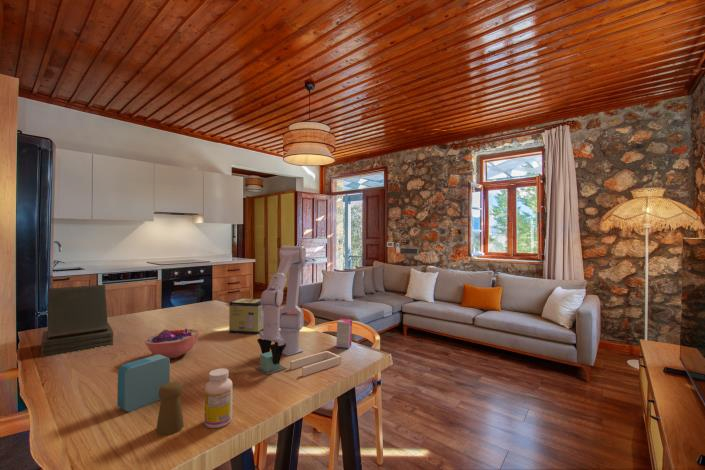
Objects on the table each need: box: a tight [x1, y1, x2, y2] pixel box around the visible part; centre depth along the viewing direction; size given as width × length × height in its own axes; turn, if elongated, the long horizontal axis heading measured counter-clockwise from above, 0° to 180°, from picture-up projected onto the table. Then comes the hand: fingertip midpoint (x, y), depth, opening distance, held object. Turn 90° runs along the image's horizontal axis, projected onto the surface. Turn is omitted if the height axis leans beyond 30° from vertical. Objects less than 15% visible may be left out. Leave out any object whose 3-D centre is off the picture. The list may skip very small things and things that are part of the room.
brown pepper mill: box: [155, 381, 184, 437], centre depth 81 cm, size 6×6×11 cm
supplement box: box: [335, 318, 353, 350], centre depth 144 cm, size 6×6×12 cm
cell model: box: [143, 328, 199, 360], centre depth 131 cm, size 17×20×11 cm
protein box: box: [228, 298, 264, 335], centre depth 167 cm, size 10×16×16 cm
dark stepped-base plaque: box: [40, 284, 114, 358], centre depth 143 cm, size 23×20×25 cm
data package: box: [116, 355, 171, 413], centre depth 94 cm, size 12×4×12 cm, turn 148°
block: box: [259, 350, 281, 372], centre depth 119 cm, size 5×5×5 cm
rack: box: [289, 350, 342, 377], centre depth 121 cm, size 8×17×3 cm, turn 133°
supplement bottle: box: [204, 367, 233, 429], centre depth 84 cm, size 7×7×13 cm
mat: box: [255, 364, 287, 376], centre depth 119 cm, size 8×8×1 cm
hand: (271, 360), depth 119 cm, fingers open, 7 cm apart
